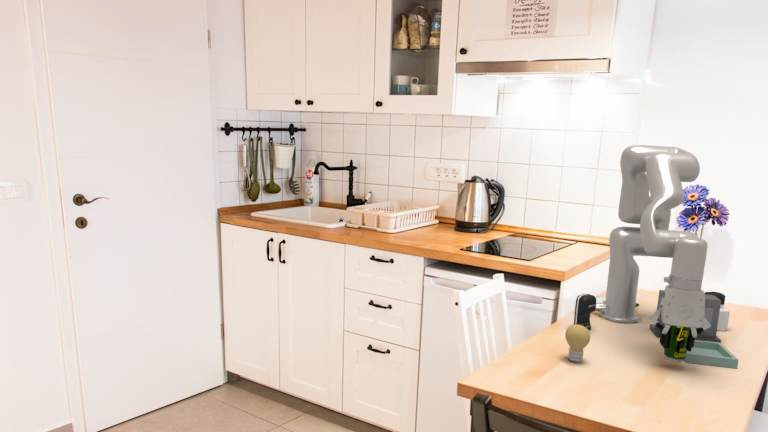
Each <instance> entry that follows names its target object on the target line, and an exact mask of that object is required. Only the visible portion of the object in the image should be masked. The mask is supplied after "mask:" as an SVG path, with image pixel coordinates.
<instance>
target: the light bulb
mask: <svg viewBox="0 0 768 432" xmlns="http://www.w3.org/2000/svg"><path fill="white" fill-rule="evenodd" d="M565 340H566V343H567V344H568V346H569V348H568V359H569V360H570V361H571V362H574V363H580V362H582V361H583V358H584V349H585V348H586V347H588V344H589V343H590V341H591V333H590V331H589V330H588V329H587V328H586V327H584V326H582V325H574V324H572V325H570V326H568V327H567V328H566V330H565Z"/></svg>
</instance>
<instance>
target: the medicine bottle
mask: <svg viewBox="0 0 768 432" xmlns="http://www.w3.org/2000/svg"><path fill="white" fill-rule="evenodd" d="M704 293H705V294H707V295H714V296H716V297H717V298H718V299H720V300H721V305H720V312H719V319H718V326H717V331H718V332H726V331H728V325H729V319H730V310H729V309H727V308H725V301H726V295H725V294H724V293H722V292H719V291H713V290H708V291H704Z"/></svg>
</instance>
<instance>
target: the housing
mask: <svg viewBox="0 0 768 432" xmlns="http://www.w3.org/2000/svg"><path fill="white" fill-rule="evenodd" d="M664 290H665V289H659V292H658V297H657V306H656V311H657V310H659V308H660V303H661V299H662V296H663V293H664ZM720 305H721V300H720V299H718V298H717V297H716V296H714V295H707V294H705V314H704V317H705V318H706V319H707V321H708V322H709V323H710V325H711V327H709V328H708V329H706V330H704V331H703V332H702V333H700V334H699V335H697V337H696V338H695V340H700V341H709V342H718V343H721V344H722V340H721V338H719V337H718V336H717V326H718V319H719V312H720ZM657 321H659V322H660V324H662V320H661V319H660V318H658V319H657ZM649 329H650V331H652V333H653V334H654V336H655V337H656V338H658V339H660V334H661V331H660V330H659V328H658V327H657V326H656V325H655V324H654V323H650V325H649Z"/></svg>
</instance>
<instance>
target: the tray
mask: <svg viewBox="0 0 768 432" xmlns="http://www.w3.org/2000/svg"><path fill="white" fill-rule="evenodd" d="M683 362H685V363H687V364H695V365H702V366H703V365H704V366H711V367H718V368H727V369H729V368H730V369H738V366H739V359H738V358H737V356H735V355H734V354H733V353H732V352H731V351H730V349H728V348H726V347H725V346H724V345H723V343H722V342H721V343H718V342H709V341H700V340H695V341H694V347H693V348H692V349H691V352H690V351H688V350H687V353H686V359H685V360H684V361H683Z"/></svg>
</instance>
